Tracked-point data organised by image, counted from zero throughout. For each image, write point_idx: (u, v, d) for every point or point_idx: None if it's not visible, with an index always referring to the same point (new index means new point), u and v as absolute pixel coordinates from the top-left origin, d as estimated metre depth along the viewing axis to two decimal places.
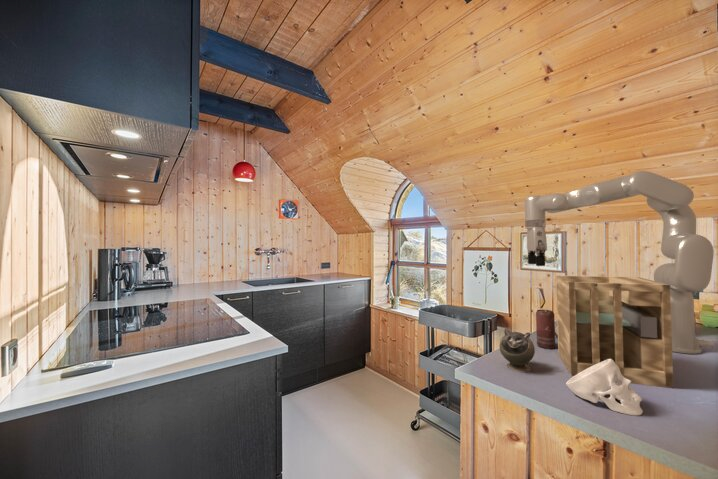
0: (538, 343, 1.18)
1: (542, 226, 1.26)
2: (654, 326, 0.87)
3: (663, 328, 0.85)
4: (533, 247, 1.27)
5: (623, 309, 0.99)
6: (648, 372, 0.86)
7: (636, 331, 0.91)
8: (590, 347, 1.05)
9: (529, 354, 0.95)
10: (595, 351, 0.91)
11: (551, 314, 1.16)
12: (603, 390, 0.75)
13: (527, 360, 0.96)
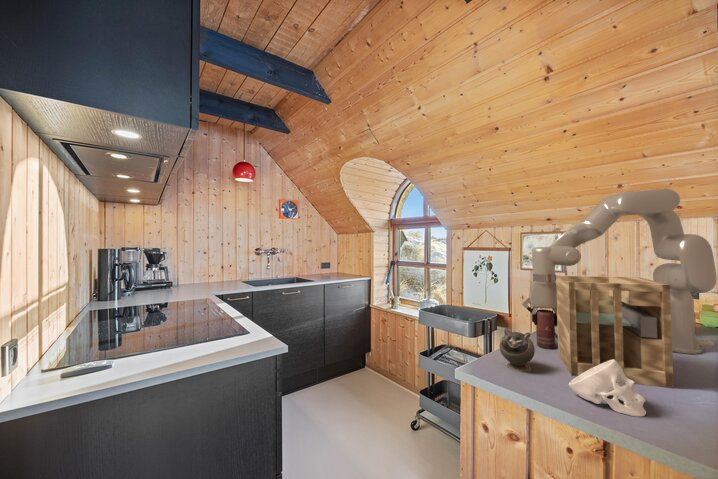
0: (538, 343, 1.18)
1: None
2: (654, 326, 0.87)
3: (663, 328, 0.85)
4: (556, 304, 1.15)
5: (623, 309, 0.99)
6: (648, 372, 0.86)
7: (636, 331, 0.91)
8: (590, 347, 1.05)
9: (529, 354, 0.95)
10: (595, 351, 0.91)
11: (551, 314, 1.16)
12: (606, 391, 0.74)
13: (527, 360, 0.96)
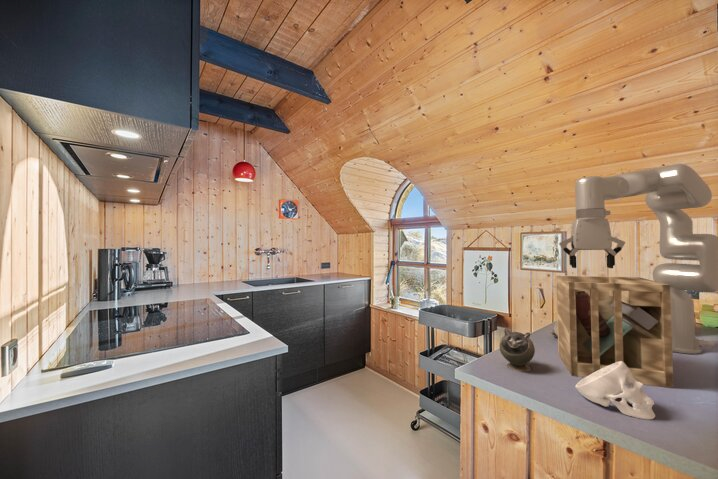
0: (590, 334, 0.98)
1: None
2: (645, 314, 0.87)
3: (663, 328, 0.85)
4: (607, 244, 0.95)
5: None
6: (648, 372, 0.86)
7: (641, 325, 0.90)
8: None
9: (529, 354, 0.95)
10: (595, 351, 0.91)
11: (584, 295, 0.97)
12: (614, 393, 0.73)
13: (527, 360, 0.96)
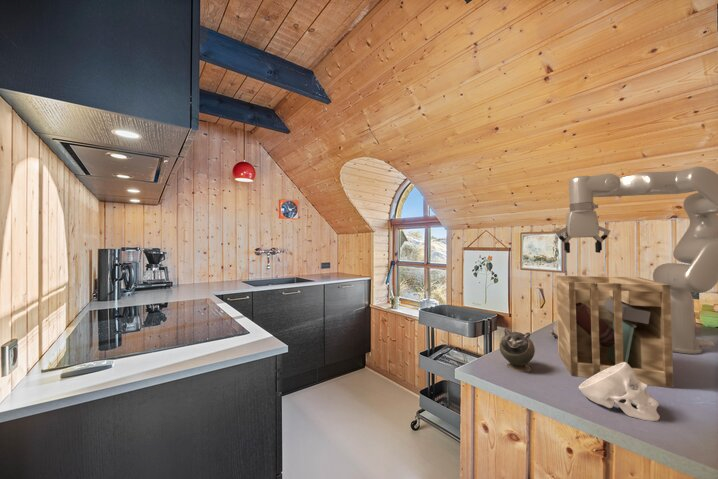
0: (601, 344, 0.96)
1: None
2: (636, 311, 0.88)
3: (663, 328, 0.85)
4: (595, 232, 1.15)
5: (609, 310, 1.00)
6: (648, 372, 0.86)
7: None
8: (590, 347, 1.05)
9: (529, 354, 0.95)
10: (595, 351, 0.91)
11: (582, 307, 0.98)
12: (618, 395, 0.72)
13: (527, 360, 0.96)
